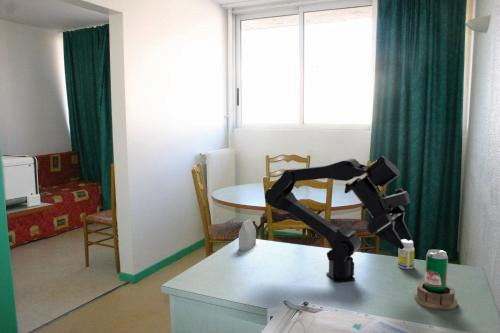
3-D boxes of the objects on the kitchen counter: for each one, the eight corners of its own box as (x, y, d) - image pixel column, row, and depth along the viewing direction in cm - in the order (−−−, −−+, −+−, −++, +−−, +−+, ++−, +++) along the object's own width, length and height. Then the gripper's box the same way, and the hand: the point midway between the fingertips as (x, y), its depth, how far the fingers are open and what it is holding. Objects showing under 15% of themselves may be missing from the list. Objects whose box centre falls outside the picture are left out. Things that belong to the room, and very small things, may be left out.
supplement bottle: (411, 264, 131) (412, 238, 130) (415, 269, 126) (416, 243, 125) (395, 263, 131) (397, 238, 130) (399, 269, 126) (400, 243, 125)
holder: (431, 312, 99) (432, 299, 98) (406, 294, 108) (407, 282, 108) (466, 307, 101) (467, 294, 101) (438, 290, 111) (439, 278, 110)
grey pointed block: (255, 245, 150) (255, 218, 149) (247, 250, 144) (247, 223, 143) (247, 243, 152) (246, 217, 151) (238, 249, 146) (238, 222, 145)
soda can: (420, 295, 105) (422, 251, 104) (430, 290, 108) (432, 247, 107) (439, 302, 101) (442, 256, 100) (449, 297, 104) (452, 252, 103)
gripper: (384, 183, 101) (426, 236, 97) (401, 176, 117) (437, 220, 112) (350, 208, 106) (388, 259, 102) (371, 198, 122) (404, 241, 118)
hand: (406, 244), depth 108 cm, fingers open, 9 cm apart
